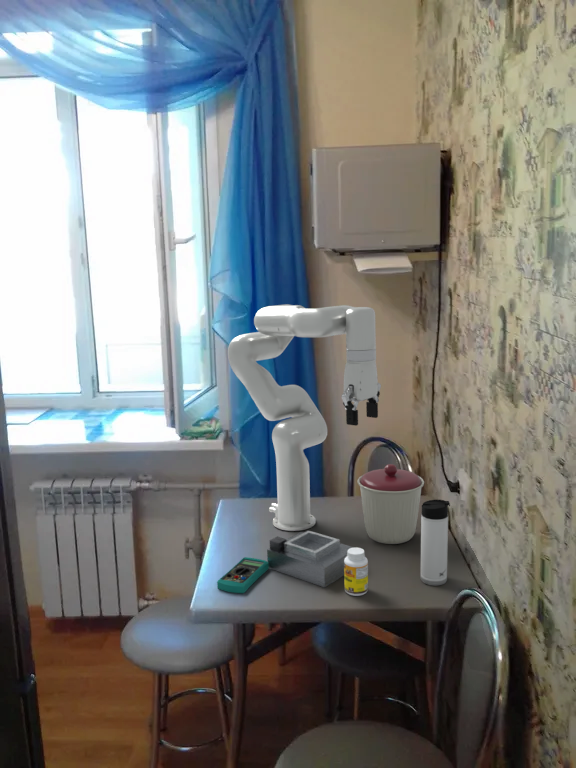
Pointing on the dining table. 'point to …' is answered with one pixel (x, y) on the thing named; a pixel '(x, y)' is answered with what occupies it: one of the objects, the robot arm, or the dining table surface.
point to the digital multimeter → (242, 575)
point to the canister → (390, 503)
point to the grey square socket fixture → (308, 557)
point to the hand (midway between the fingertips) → (362, 420)
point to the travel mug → (434, 542)
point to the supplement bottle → (356, 572)
